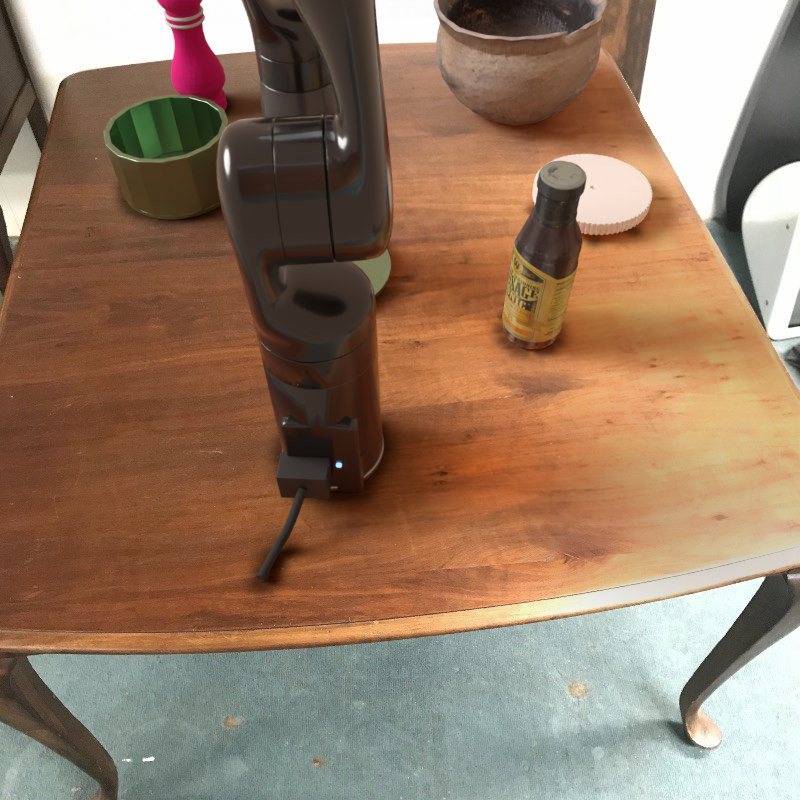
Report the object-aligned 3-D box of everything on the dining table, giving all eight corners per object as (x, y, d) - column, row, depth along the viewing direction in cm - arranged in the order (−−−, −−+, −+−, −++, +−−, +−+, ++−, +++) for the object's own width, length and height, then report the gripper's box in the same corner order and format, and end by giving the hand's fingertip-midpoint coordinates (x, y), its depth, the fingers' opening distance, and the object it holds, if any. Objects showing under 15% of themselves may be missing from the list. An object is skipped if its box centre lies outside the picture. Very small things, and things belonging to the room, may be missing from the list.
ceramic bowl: (547, 169, 99) (565, 55, 87) (402, 122, 106) (401, 11, 95) (612, 90, 111) (636, -20, 99) (478, 52, 118) (485, -54, 107)
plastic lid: (636, 170, 99) (640, 153, 97) (657, 241, 90) (663, 224, 88) (526, 171, 99) (528, 153, 97) (537, 242, 90) (539, 224, 88)
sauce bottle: (490, 319, 82) (509, 157, 67) (543, 304, 84) (573, 142, 68) (518, 362, 78) (544, 200, 63) (572, 346, 80) (611, 183, 64)
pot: (226, 221, 93) (213, 163, 87) (109, 218, 94) (87, 160, 88) (248, 152, 102) (237, 95, 96) (141, 150, 103) (123, 93, 97)
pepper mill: (176, 98, 111) (137, -53, 95) (226, 90, 112) (196, -61, 97) (182, 125, 107) (143, -29, 91) (234, 116, 108) (204, -37, 92)
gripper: (276, 78, 77) (296, 218, 90) (250, 162, 68) (277, 303, 81) (351, 80, 76) (360, 219, 90) (335, 164, 68) (348, 306, 81)
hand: (321, 259), depth 85 cm, fingers open, 4 cm apart
